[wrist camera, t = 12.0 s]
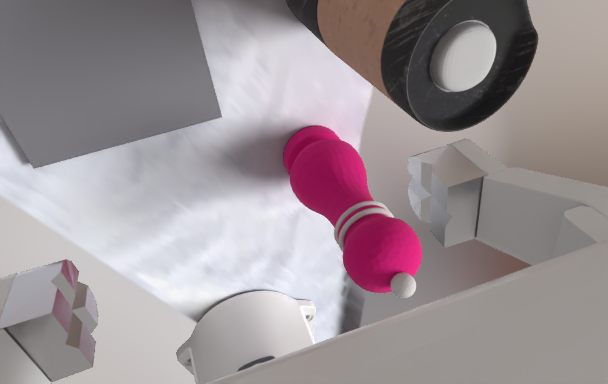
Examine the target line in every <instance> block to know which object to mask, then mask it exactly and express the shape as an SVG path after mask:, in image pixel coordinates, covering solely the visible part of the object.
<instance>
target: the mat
mask: <svg viewBox="0 0 608 384" xmlns="http://www.w3.org/2000/svg"><path fill="white" fill-rule="evenodd" d="M0 115H1V117H2V119H3V120H4V122H5V123H6V125H7V127H8V128H9V130H10V131H11V133H12V135H13V136H14V138H15V139H16V141H17V143H18V144H19V146H20V147H21V149H22V151H23V152H24V154H25V155H26V157H27V159H28V160H29V162H30V163H31V165H32V167H33V168H38V167H42V166H45V165H49V164H52V163H56V162H60V161H63V160H67V159H71V158H74V157H78V156H82V155H85V154H89V153H93V152H96V151H100V150H104V149H107V148H111V147H115V146H118V145H122V144H125V143H129V142H133V141H136V140H140V139H144V138H147V137H151V136H155V135H158V134H162V133H166V132H169V131H173V130H177V129H180V128H184V127H188V126H191V125H195V124H198V123H202V122H206V121H209V120H213V119H217V118H220V117H222V115H221V111H220V108H219V104H218V100H217V97H216V93H215V89H214V86H213V82H212V78H211V75H210V71H209V67H208V64H207V60H206V56H205V52H204V49H203V45H202V41H201V38H200V34H199V30H198V27H197V23H196V19H195V16H194V12H193V8H192V5H191V1H190V0H0Z"/></svg>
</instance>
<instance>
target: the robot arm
mask: <svg viewBox="0 0 608 384" xmlns="http://www.w3.org/2000/svg"><path fill="white" fill-rule="evenodd" d="M408 172H409V173H410V174H411V175H412V176H413V179H412V181H411V182H410V183H409V185H408V196H409V199H410V203H411V207H412V209H413V210H414V212H415V214H416V215H417V216H418V218H419V219H420V220H422V221H425V222H428V223H430V232H431V233H432V234H433V235H434V236H435V237H436V239H437V240H438V241H439V242H440V243H441V244H442V246H443V247H444V248H445V247H448V246H452V245H455V244H458V243H461V242H465V241H468V240H471V239H474V238H476V240H478V241H481V242H483V243H485V244H487V245H489V246H492V247H494V248H496V249H498V250H500V251H502V252H505V253H507V254H509V255H511V256H513V257H516V258H518V259H520V260H522V261H524V262H526V263H529V264H531V265H533V266H531V267H528V268H525V269H523V270H520V271H517V272H514V273H512V274H509V275H506V276H503V277H501V278H498V279H495V280H492V281H490V282H487V283H484V284H481V285H478V286H476V287H473V288H470V289H467V290H465V291H462V292H459V293H456V294H453V295H451V296H448V297H445V298H442V299H439V300H437V301H434V302H431V303H428V304H426V305H423V306H420V307H417V308H415V309H411V310H409V311H406V312H403V313H400V314H397V315H395V316H392V317H389V318H386V319H383V320H381V321H378V322H375V323H372V324H369V325H366V326H364V327H361V328H358V329H355V330H353V331H350V332H347V333H344V334H341V335H339V336H336V337H333V338H330V339H327V340H325V341H322V342H319V343H315V340H314V338H313V331H314V323H315V314H316V308H315V305H314V303H313V302H312V301H308V300H296V299H293V298H291V297H289V296H287V295H285V294H282V293H279V292H274V291H254V292H248V293H244V294H240V295H237V296H234V297H232V298H229V299H227V300H225V301H223V302H221V303H220V304H218V305H216V306H215V307H213V308H212V309H211V310H209V311H208V312H207V313H206V314H205V315H204V316H203V317H202V318H201V319H200V321H199V322H198V324H197V325H196V327H195V329H194V331H193V334H192V335H191V337H190V338H189V339H188V340H187V341H186V342H185V343H184V344H183V345H182V346H181V347H180V348H179V349H178V350H177V352H176V354H177V358H178V361H179V362H180V363H181V364H182V365H183V366H184V367H185V368H186V369H188V370H189V371H190V372H191V373H192V374H193V375H194V377H195V381H196V384H608V187H603V186H599V185H594V184H590V183H585V182H581V181H576V180H571V179H567V178H562V177H558V176H553V175H549V174H544V173H540V172H534V171H531V170H525V169H521V168H517V167H513V168H510V169H509V168H507V167H506V166H505V165H503V164H502V163H501V162H499V161H498V160H496V159H495V158H494V157H492V156H491V155H490V154H488V153H487V152H486V151H484V150H483V149H482V148H480V147H479V146H478V145H476V144H475V143H474V142H472V141H471V140H468V139H463V140H460V141H457V142H454V143H451V144H448V145H446V146H444V147H440V148H437V149H433V150H431V151H427V152H424V153H421V154H418V155H414V156H411V157H410V158H409V161H408ZM78 274H79V271H78V270H77V269H76V267H75V266H74V264H73V263H72V261H69V260H62V261H59V262H55V263H52V264H48V265H44V266H41V267H37V268H33V269H30V270H26V271H23V272H20V273H16V274H13V275H9V276H6V277H3V278H0V384H52V383H51V382H53V381H56V380H59V379H62V378H64V377H67V376H70V375H72V374H75V373H78V372H81V371H83V370H86V369H89V368H91V367H93V361H94V352H95V343H96V342H95V340H94V338H93V337H92V335H91V333H92V332H93V330H94V329H95V328H96V326H97V323H98V311H97V304H96V301H95V298H94V296H93V293H92V292H91V290H90V288H89V287H88V286H87V285H85V284H83V283H80V282H78V281H77V280H78Z"/></svg>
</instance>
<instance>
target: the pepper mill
mask: <svg viewBox="0 0 608 384" xmlns="http://www.w3.org/2000/svg"><path fill="white" fill-rule="evenodd" d="M283 161H284V165H285V167H286V169H287V171H288V173H289V175H290V184H291V187H292V190H293V192H294V193H295V195H296V196H297V198H298V199H299V201H300V202H302V203H303V204H304V205H305V206H306V207H308V208H309V209H311V210H312V211H315V212H317V213H319V214H321V215H323V216H325V217H326V218H327V219H328V220H329V221H330V222H331V224H332V225H333V226H334V228H335V229H334V237H335V240H336V242H337V243H338V244H339V247H340V249H341V250H342V251H343V263H344V267H345V269H346V271H347V273H348V275H349V276H350V277H351V279H352V280H353V281H354V282H355V283H356V284H357V285H359V286H360V287H361V288H363V289H365V290H367V291H370V292H376V293H386V292H391V291H393V293H394V294H395V295H396V296H398V297H401V298H407V297H410V296H411V295H412V294H413V293H414V292H415V289H416V282H415V280H414V278H413V276H414V275H415V274H416V272H417V271H418V269H419V266H420V264H421V257H422V248H421V245H420V241H419V239H418V237H417V235H416V234H415V232H414V231H413V230H412V228H411V227H410V226H409V225H408V224H406V223H405V222H404V221H402V220H399V219H396V218H394V216H393V215H392V214H391V213H390V212H389V211H388V209H387V207H386V206H385V205H383V204H382V203H379V202H377V201H374V200H373V198H372V197H371V195H370V193H369V191H368V186H367V178H366V170H365V167H364V164H363V161H362V159H361V157H360V156H359V154H358V153H357V151H356V150H355V149H354V148H353V147H352V146H351V145H350V144H348V143H346V142H344V141H341V140H340V139H339V137H338V136H337V135H336V134H335V133H334V132H333V131H332V130H330V129H329V128H326V127H322V126H311V127H308V128H305V129H302V130H301V131H299V132H298V133H296V134H295V135H294V136H293V137H292V138H291V139H290V140H289V142H288V143H287V145H286V147H285V150H284V154H283Z"/></svg>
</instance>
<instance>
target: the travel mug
mask: <svg viewBox="0 0 608 384" xmlns="http://www.w3.org/2000/svg"><path fill="white" fill-rule="evenodd" d="M286 1H287V4H288V6H289V8H290V9H291V11H292V12H293V14H294V15H295V16H296V17H297V18H298V19H299V20H300V21H301V22H302V23H303V24H304V25H305V26H306V27H307V28H308V29H309V30H310V31H311V32H312V33H313V34H314V35H315V36H316V37H317V38H318V39H319V40H320V41H321V42H322V43H324V44H325V45H326V46H327V47H328V48H329V49H330V50H331V51H332V52H333V53H334V54H335V55H336V56H338V57H339V58H340V59H341V60H343V61H344V62H345V63H346V64H347V65H349V66H350V67H351V68H352V69H354V70H355V71H356V72H357V73H359V74H360V75H361V76H362V77H363V78H365V79H366V80H367V81H368V82H370V83H371V84H372V85H373V86H374V87H376V88H377V89H378V90H379V91H381V92H382V93H383V94H384V95H386V96H387V97H388V98H389V99H390V100H392V101H393V102H394V103H396V104H397V105H398V106H399V107H400V108H402V109H403V110H404V111H405V112H407V113H408V114H409V115H410V116H411V117H412V118H414V119H415V120H416V121H418V122H419V123H421V124H422V125H424V126H426V127H428V128H430V129H433V130H436V131H443V132H453V131H459V130H463V129H466V128H470V127H472V126H474V125H477V124H479V123H480V122H482V121H484V120H485V119H487V118H488V117H490V116H491V115H493V114H494V113H495V112H496V111H498V110H499V109H500V108H501V107H502V106H503V105H504V104H505V103H506V102H507V101H508V100H509V99H510V98H511V96H512V95H513V94H514V93H515V91H516V90H517V89H518V88H519V86H520V85H521V83H522V81H523V80H524V78H525V76H526V74H527V72H528V70H529V68H530V66H531V63H532V61H533V59H534V55H535V53H536V49H537V45H538V34H537V32H536V30H535V28H534V26H533V24H532V21H531V17H530V14H529V10H528V5H527V0H286Z"/></svg>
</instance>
